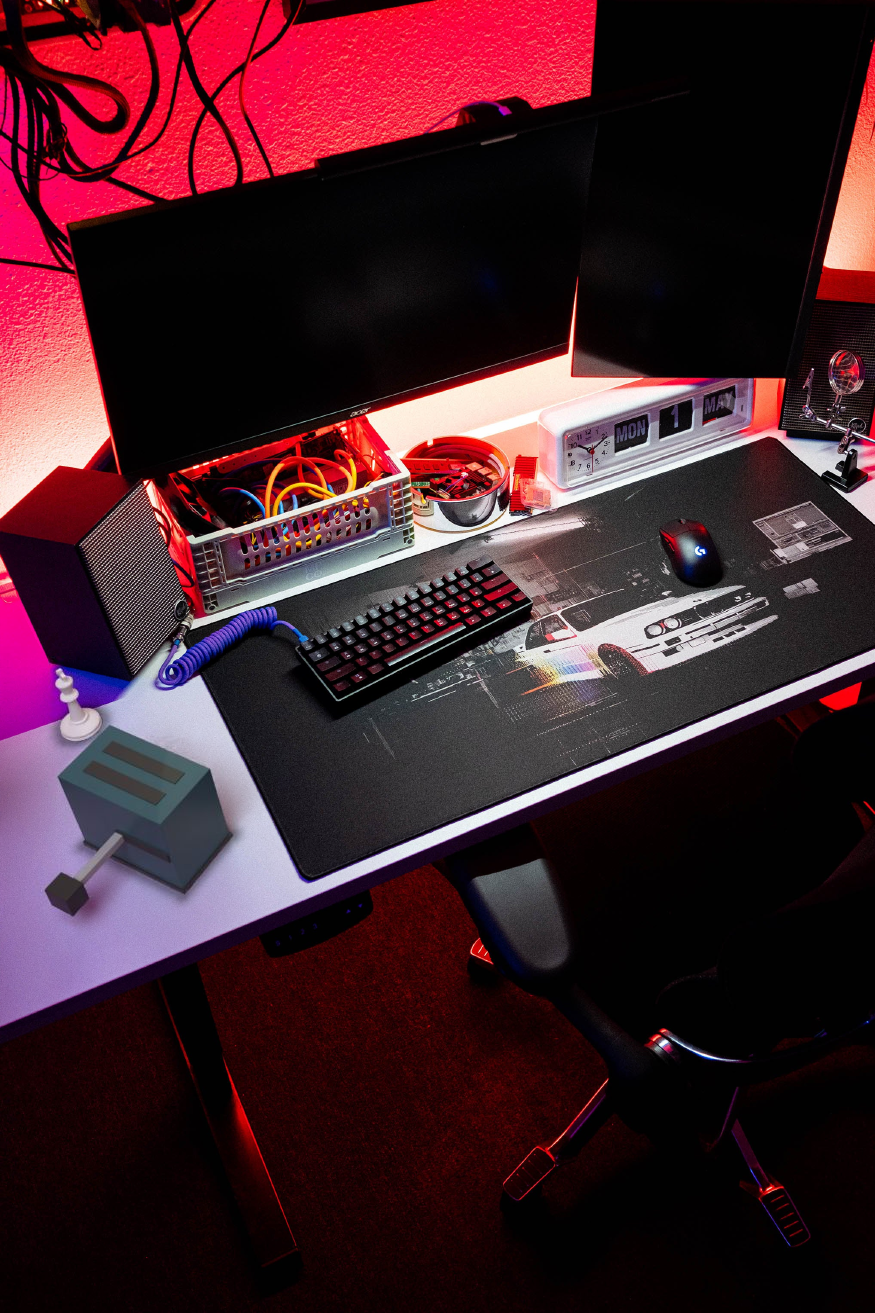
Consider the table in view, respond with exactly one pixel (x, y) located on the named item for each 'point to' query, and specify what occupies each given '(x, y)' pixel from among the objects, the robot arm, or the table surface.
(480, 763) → the table surface
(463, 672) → the table surface
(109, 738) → the toaster
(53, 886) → the slider
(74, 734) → the chess piece
